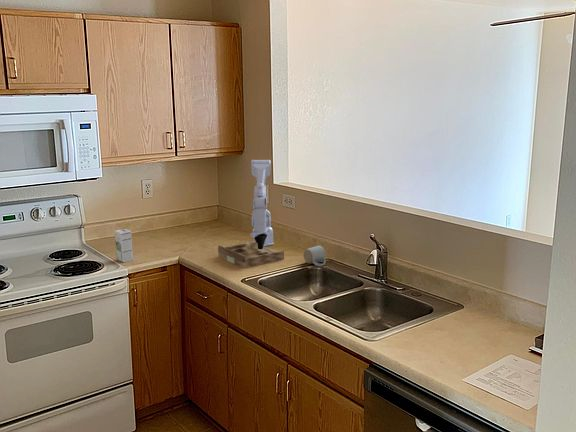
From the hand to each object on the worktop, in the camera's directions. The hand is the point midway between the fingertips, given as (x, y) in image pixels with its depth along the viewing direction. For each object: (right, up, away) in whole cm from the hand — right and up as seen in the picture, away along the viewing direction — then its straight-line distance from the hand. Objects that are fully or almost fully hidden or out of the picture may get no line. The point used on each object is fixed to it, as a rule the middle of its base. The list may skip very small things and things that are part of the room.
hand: (260, 248), depth 277 cm
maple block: (-4, -1, -2) cm, 5 cm away
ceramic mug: (+27, -6, -10) cm, 29 cm away
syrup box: (-64, -5, -7) cm, 64 cm away
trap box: (-4, -4, -2) cm, 6 cm away
